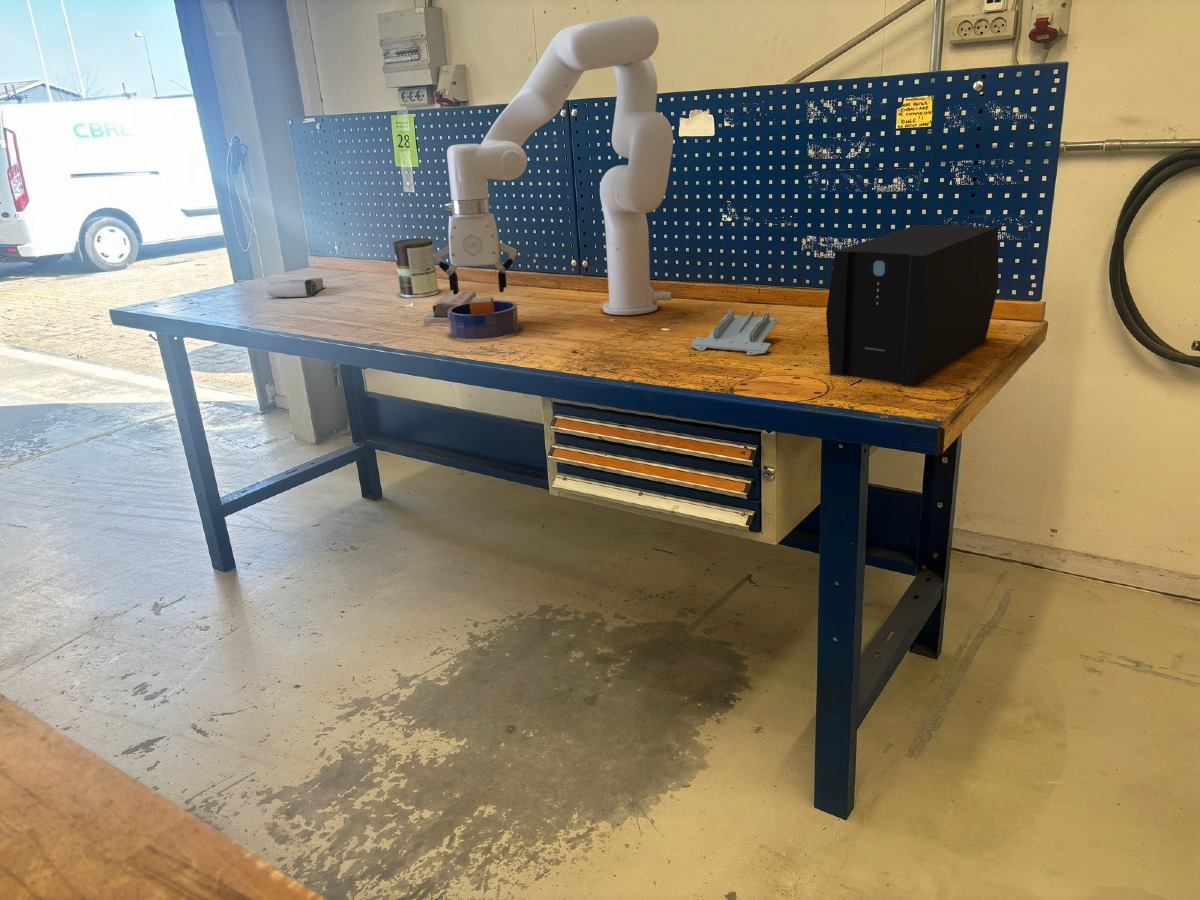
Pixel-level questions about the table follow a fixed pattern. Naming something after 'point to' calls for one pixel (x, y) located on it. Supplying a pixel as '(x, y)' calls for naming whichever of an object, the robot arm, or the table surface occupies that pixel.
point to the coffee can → (416, 267)
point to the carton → (482, 305)
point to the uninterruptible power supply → (911, 301)
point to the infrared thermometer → (295, 288)
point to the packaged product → (448, 305)
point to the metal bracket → (739, 334)
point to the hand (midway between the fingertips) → (479, 292)
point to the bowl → (483, 321)
